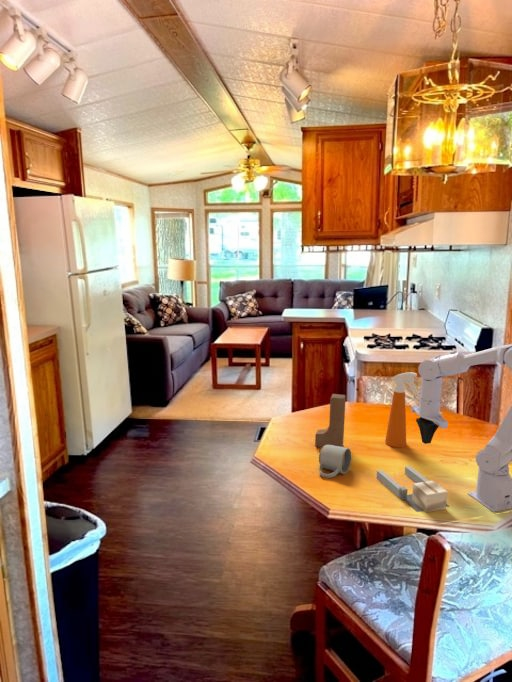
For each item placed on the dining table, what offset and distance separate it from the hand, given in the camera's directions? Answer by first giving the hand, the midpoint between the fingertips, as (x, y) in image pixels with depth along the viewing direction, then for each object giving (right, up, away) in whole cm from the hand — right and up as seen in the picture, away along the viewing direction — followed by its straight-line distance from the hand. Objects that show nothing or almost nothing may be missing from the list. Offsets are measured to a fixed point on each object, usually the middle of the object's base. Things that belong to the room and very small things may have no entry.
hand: (426, 442), depth 142 cm
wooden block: (-26, -6, +21) cm, 34 cm away
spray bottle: (-1, -6, +22) cm, 23 cm away
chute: (-8, -11, -6) cm, 15 cm away
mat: (-6, -13, -14) cm, 20 cm away
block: (-5, -13, -16) cm, 21 cm away
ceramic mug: (-27, -10, +3) cm, 29 cm away
